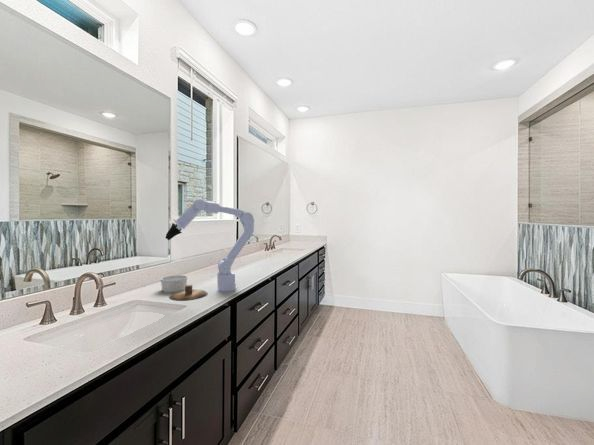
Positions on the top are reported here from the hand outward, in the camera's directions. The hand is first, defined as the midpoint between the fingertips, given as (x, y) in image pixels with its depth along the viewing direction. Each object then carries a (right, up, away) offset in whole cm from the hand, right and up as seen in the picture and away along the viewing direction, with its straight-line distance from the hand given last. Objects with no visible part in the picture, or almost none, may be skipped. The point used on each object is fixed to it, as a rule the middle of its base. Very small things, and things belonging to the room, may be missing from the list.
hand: (167, 237), depth 143 cm
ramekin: (0, -29, +8) cm, 30 cm away
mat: (+12, -29, -3) cm, 31 cm away
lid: (+12, -28, -3) cm, 31 cm away
